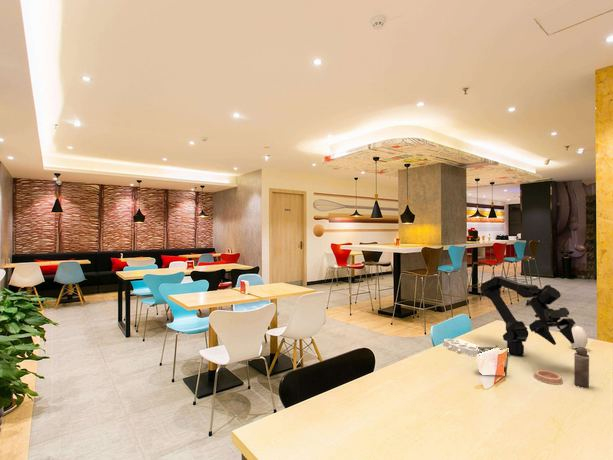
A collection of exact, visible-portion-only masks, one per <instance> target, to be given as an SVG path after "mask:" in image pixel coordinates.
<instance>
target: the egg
mask: <svg viewBox="0 0 613 460" xmlns="http://www.w3.org/2000/svg"><path fill="white" fill-rule="evenodd" d="M572 335H573V338H574V342H575V343H573V344H572V343H571V342H570V341H569V344H570V346H572V347H573V348H574V347H575V348H578V347H583V348H585V349H586V346H587V345H588V342H589V339H588V335H587V332H586V331H585V329H584V328H583V327H581V326H580V325H579V326H578V325H574V326H573V327H572ZM575 348H574V349H575Z"/></svg>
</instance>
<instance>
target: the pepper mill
mask: <svg viewBox="0 0 613 460" xmlns="http://www.w3.org/2000/svg"><path fill="white" fill-rule="evenodd" d="M575 351H576V352H574V354H573V356H574V357H573V358H574V364H573V365H574V368H573V371H574V372H573V373H574V376H573V377H574V381H573V382H574V383H573V384H574V386H576V387H578V386H579V388H581V387H583V388H582V389H589V388H590V355H589V354H588V350H587V349H586V347H585V348H583V347H578V348H577V349H575Z"/></svg>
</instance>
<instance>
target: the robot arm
mask: <svg viewBox="0 0 613 460" xmlns="http://www.w3.org/2000/svg"><path fill="white" fill-rule="evenodd" d="M503 287H504V288H506V289H509V290H511V291H514V292H516V294H517V295H519V296H520V297H522V298H524V299H525V298H526V299H527V300H526V303H525V306H526V307H531V308H532V310H533V312H534V313H535V315H534V317H535V318H538V319H536V320H534V321H533V322H531V323H530V324H529V325H528V327H527V326H526V324H525V322H523V321H519V320H517V319H516V318H515V316H514V315H513V313H512V311H511V310H510V309H509V307H508V306H507V303H506V302H505V301H504V300H503V297H501V289H502V288H503ZM479 289H480V292H481V293H482V294H483V295H484V297H486V298H487V299H489V300H490V301H491V302H492V304H493V305H494V307H495V309H496V310H497V312H498V313H499V316H500V317H501V319H502V320H503V322H504V323H505V331H506V332H505V333H504V334H503V335H502V338H503V339H502V340H503V341H505V342H506V349H507V348H509V354H510V356H517V357H524V354H525V346H524V344H523V343H525V342H527V338H529V331H528V328H529V330H530V331H531V333H535V334H537V335H539V336H540V337H542V338H543V339H545V340H546V341H547V342H549V343H551V345H553V346H555V345H557V342H556V340H555V338H554V337H553V335H552V333H551V332H550V328H554V327H555V328H556V327H557V329H559V333H561V334H562V336H563V337H565V338H566V339H567V340H568V342H569V343H570V342H571V343H572V344H573V343H575V342H574V338H573V335H572V328H573V327H575V325H576V322H575V320H574V319H573V318H570V317H569V315H570V311H569V309H568V308H567V307H559V309H554V308H550V307H549V305H552V304H553V303H554V302H556V301H557V300H558V299H560V298H561V297H562V294H561V292H560V291H559V290H557V288H555V287H554V286H553V287H552V286H551V284H545V285H544V286H543V288H539V287H538V285H535V284H530V283H521V282H518V281H515V280H512V279H509V278H507V277H505V276H503V275H502V276H501V275H500V276H498V275H497V276H494V277H492V278H491V279H488V280H486V281H485V282H483V283H482V284H481V285H480V288H479ZM529 298H530V299H529ZM568 317H569V318H568ZM561 318H562V319H561Z"/></svg>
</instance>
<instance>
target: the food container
mask: <svg viewBox="0 0 613 460" xmlns="http://www.w3.org/2000/svg"><path fill="white" fill-rule="evenodd" d="M493 348H495V347H492V346H481V348H480V349H479V351H478V354H479V353H482V352H485V351H488V350H491V349H493ZM499 349H500V350H504V348H503V349H502V348H499ZM509 358H511V355H510V354H509V352H507V358H506V364H505V366H504V372H505V376H504V377H507V374H508V373H507V372H508V363H509Z"/></svg>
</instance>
